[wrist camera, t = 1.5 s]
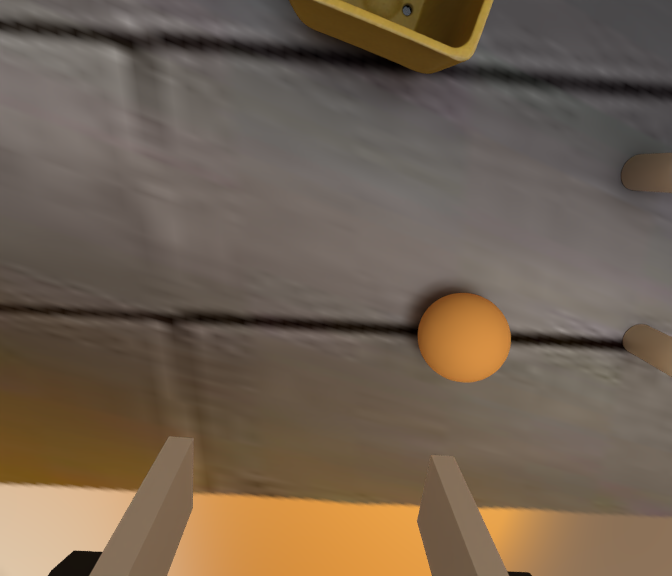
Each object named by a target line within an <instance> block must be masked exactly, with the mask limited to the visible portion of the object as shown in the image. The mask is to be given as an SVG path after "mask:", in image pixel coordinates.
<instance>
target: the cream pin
mask: <svg viewBox="0 0 672 576" xmlns="http://www.w3.org/2000/svg"><path fill="white" fill-rule="evenodd" d="M623 346H624V348H625V349H626V350H627V351H628V352H630V353H632V354H633V355H635V356H637V357H639V358H640V359H642V360H644V361H645V362H647V363H649V364H650V365H652V366H654V367H656V368H657V369H659V370H661V371H662V372H664V373H666V374H667V375H669V376H671V377H672V337H670V336H668V335H666V334H664V333H662V332H660V331H658V330H656V329H654V328H652V327H649V326H647V325H644V324H639V325H635V326H633V327H631V328H630V329H629V330H628V331H627V332H626V333H625V335H624V337H623Z"/></svg>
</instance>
